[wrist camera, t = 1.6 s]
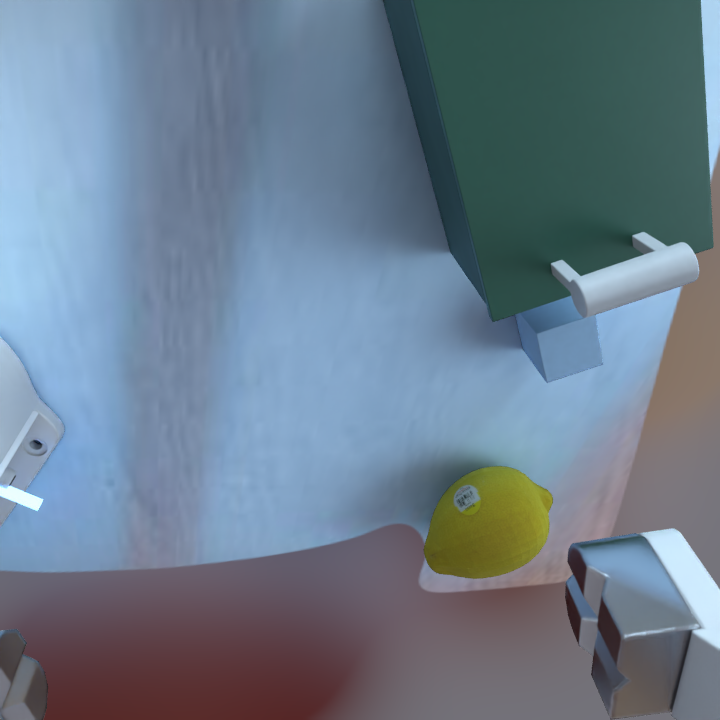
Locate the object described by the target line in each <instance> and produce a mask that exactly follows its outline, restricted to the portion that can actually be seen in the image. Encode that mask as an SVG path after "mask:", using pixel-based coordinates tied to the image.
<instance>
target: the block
mask: <svg viewBox="0 0 720 720" xmlns="http://www.w3.org/2000/svg"><path fill="white" fill-rule="evenodd" d="M515 316H516V321H517V325H518V329H519V334H520V338H521V343H522V347H523V350H524V351H525V353H526V354H527V356H528V357H529V358H530V360H531V361H532V363H533V364H534V366H535V367H536V368H537V370H538V371H539V373H540V374H541V375H542V377H543V378H544V380H545V381H546V382H547V383H548V382H551V381H554V380H557V379H560V378H563V377H566V376H569V375H573V374H576V373H579V372H582V371H585V370H588V369H591V368H594V367H597V366H600V365H603V359H602V352H601V346H600V340H599V333H598V327H597V321H596V315H593V316H590V317H587V318H583V317H582V316H581V315H580V314H579V313H578V311H577V309H576V307H575V305H574V303H573V300H572V297H571V296H569V297H566V298H563V299H560V300H557V301H554V302H551V303H548V304H545V305H542V306H539V307H536V308H533V309H530V310H527V311H524V312H521V313H519V314H516V315H515Z"/></svg>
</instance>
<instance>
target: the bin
mask: <svg viewBox="0 0 720 720" xmlns="http://www.w3.org/2000/svg"><path fill="white" fill-rule="evenodd" d="M383 2H384V6H385V10H386V14H387V17H388V21H389V25H390V29H391V32H392V36H393V40H394V43H395V47H396V51H397V55H398V58H399V62H400V66H401V70H402V73H403V77H404V81H405V84H406V88H407V92H408V96H409V99H410V103H411V107H412V111H413V114H414V118H415V122H416V125H417V129H418V133H419V137H420V140H421V144H422V148H423V151H424V155H425V159H426V163H427V166H428V170H429V174H430V178H431V181H432V185H433V189H434V192H435V196H436V200H437V204H438V207H439V211H440V215H441V219H442V222H443V226H444V230H445V233H446V237H447V241H448V245H449V248H450V252H451V254H452V255H453V257H454V258H455V260H456V261H457V263H458V264H459V265H460V267H461V268H462V270H463V271H464V273H465V274H466V276H467V277H468V279H469V280H470V281H471V283H472V284H473V286H474V287H475V289H476V290H477V292H478V293H479V295H480V296H481V298H482V299H483V300H484V302H485V303H486V301H485V297H484V293H483V289H482V285H481V281H480V277H479V273H478V269H477V265H476V261H475V257H474V253H473V249H472V245H471V241H470V237H469V233H468V229H467V225H466V221H465V217H464V213H463V209H462V205H461V201H460V197H459V193H458V189H457V185H456V181H455V177H454V173H453V169H452V165H451V161H450V157H449V153H448V149H447V145H446V141H445V137H444V133H443V129H442V125H441V121H440V117H439V113H438V109H437V105H436V101H435V97H434V93H433V89H432V85H431V81H430V77H429V73H428V69H427V65H426V61H425V57H424V53H423V49H422V45H421V41H420V37H419V33H418V29H417V25H416V21H415V17H414V12H413V8H412V4H411V0H383Z"/></svg>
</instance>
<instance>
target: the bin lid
mask: <svg viewBox="0 0 720 720" xmlns="http://www.w3.org/2000/svg"><path fill="white" fill-rule="evenodd" d="M411 4H412V8H413V12H414V17H415V21H416V25H417V29H418V33H419V37H420V41H421V45H422V49H423V53H424V57H425V61H426V65H427V69H428V73H429V77H430V81H431V85H432V89H433V93H434V97H435V101H436V105H437V109H438V113H439V117H440V121H441V125H442V129H443V133H444V137H445V141H446V145H447V149H448V153H449V157H450V161H451V165H452V169H453V173H454V177H455V181H456V185H457V189H458V193H459V197H460V201H461V205H462V209H463V213H464V217H465V221H466V225H467V229H468V233H469V237H470V241H471V245H472V249H473V253H474V257H475V261H476V265H477V269H478V273H479V277H480V281H481V285H482V289H483V293H484V297H485V301H486V305H487V309H488V313H489V317H490V318H491V320H492V321H493V322H495V321H498V320H501V319H504V318H507V317H510V316H513V315H516V314H519V313H521V312H524V311H527V310H530V309H533V308H536V307H539V306H542V305H545V304H548V303H551V302H554V301H557V300H560V299H563V298H566V297H569V296H571V297H572V300H573V303H574V305H575V307H576V309H577V311H578V313H579V314H580V315H581V316H582V317H583V318H587V317H590V316H593V315H596V314H599V313H602V312H605V311H608V310H611V309H614V308H617V307H620V306H623V305H626V304H629V303H632V302H635V301H638V300H641V299H644V298H647V297H650V296H653V295H656V294H659V293H662V292H665V291H668V290H671V289H674V288H677V287H680V286H683V285H686V284H689V283H691V282H694V281H695V280H697V278H698V275H699V266H698V261H697V258H696V256H695V254H696V253H699V252H701V251H705V250H708V249H711V248H713V227H712V208H711V189H710V170H709V151H708V132H707V113H706V94H705V75H704V56H703V37H702V18H701V0H411Z"/></svg>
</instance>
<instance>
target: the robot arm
mask: <svg viewBox="0 0 720 720" xmlns="http://www.w3.org/2000/svg"><path fill="white" fill-rule="evenodd" d="M63 435H64V425H63V423H62V422H61V420H60V419H59V417H58V416H57V415H56V414H55V413H54V412H53V411H52V410H51V409H50V408H49V407H48V406H47V405H46V404H45V403H44V402H43V401H42V400H41V399H40V398H39V397H38V395H37V393H36V391H35V389H34V387H33V385H32V383H31V380H30V378H29V376H28V373H27V371H26V369H25V367H24V365H23V364H22V362H21V361H20V359H19V358H18V356H17V355H16V353H15V352H14V351H13V350H12V348H11V347H10V346H9V345H8V344H7V343H6V342H5V341H4V340H3V339H2V338H1V337H0V528H1V526H2V525H3V523H4V522H5V520H6V519H7V517H8V516H9V515H10V513H11V512H12V510H13V509H14V507H15V506H16V504H17V503H19V504H22V505H24V506H27V507H29V508H32V509H34V510H37V511H38V509H39V507H40V505H41V503H42V501H43V499H40V498H38V497H36V496H33V495H31V494H28V493H26V492H25V491H26V490H27V488H28V487H29V485H30V484H31V482H32V481H33V479H34V478H35V476H36V475H37V473H38V472H39V471H40V469H41V468H42V466H43V465H44V463H45V462H46V460H47V459H48V457H49V456H50V454H51V453H52V451H53V450H54V449H55V447H56V446H57V444H58V443H59V441H60V440H61V438H62V437H63ZM33 440H38V441H40V442H41V443H42V444H37V443H35V442H34V441H33ZM568 563H569V566H570V568H571V570H572V572H573V575H572V576H571V577H570V578H569V579H568V580H567V581H566V593H565V594H566V596H565V598H566V604H567V611H568V616H569V619H570V623H571V626H572V629H573V632H574V634H575V637H576V639H577V642H578V644H579V646H580V647H581V648H582V649H584V650H585V651H587V652H588V653H589V654H590V655H592V656H593V665H592V673H591V675H592V678H593V680H594V682H595V684H596V687H597V689H598V691H599V694H600V696H601V698H602V701H603V703H604V705H605V708H606V710H607V712H608V715H609V717H610V719H619V718H628V717H636V716H643V715H651V714H659V713H667V712H672V714H671V716H672V717H674V718H675V719H676V720H720V589H719V588H718V586H717V585H716V583H715V582H714V580H713V579H712V577H711V576H710V574H709V573H708V572H707V570H706V569H705V567H704V566H703V564H702V563H701V561H700V560H699V559H698V557H697V556H696V554H695V553H694V551H693V550H692V548H691V547H690V546H689V544H688V543H687V541H686V540H685V538H684V537H683V535H682V534H681V533H680V532H678V531H677V530H675V529H674V528H673V529H665V530H659V531H652V532H645V533H640V534H636V533H634V534H628V535H622V536H616V537H610V538H604V539H598V540H591V541H585V542H579V543H573V544H572V545H571V546H570V548H569V552H568ZM26 644H27V643H26V641H25V640H24V638H23V637H22V635H21V634H20V633H19V631H18V630H17V629H12V630H3V631H0V720H43V718H44V715H45V712H46V708H47V694H48V684H47V680H46V676H45V672H44V670H43V668H42V667H41V665H40V663H39V662H38V661H36V660H34V659H32V658H30V657H28V656H26V655H24V654H23V652H24V649H25V646H26Z"/></svg>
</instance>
